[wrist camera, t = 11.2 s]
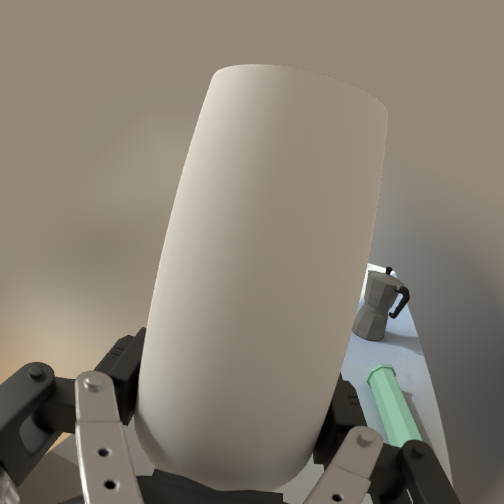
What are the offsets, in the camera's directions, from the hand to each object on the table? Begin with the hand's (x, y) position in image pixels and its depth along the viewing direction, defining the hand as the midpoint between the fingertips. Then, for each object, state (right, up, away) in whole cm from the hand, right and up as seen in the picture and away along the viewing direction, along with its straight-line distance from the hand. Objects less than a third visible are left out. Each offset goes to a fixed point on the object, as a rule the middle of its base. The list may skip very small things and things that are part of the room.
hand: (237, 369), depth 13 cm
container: (+23, -24, +30) cm, 45 cm away
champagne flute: (-3, -14, +2) cm, 14 cm away
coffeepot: (+30, -16, +64) cm, 72 cm away
